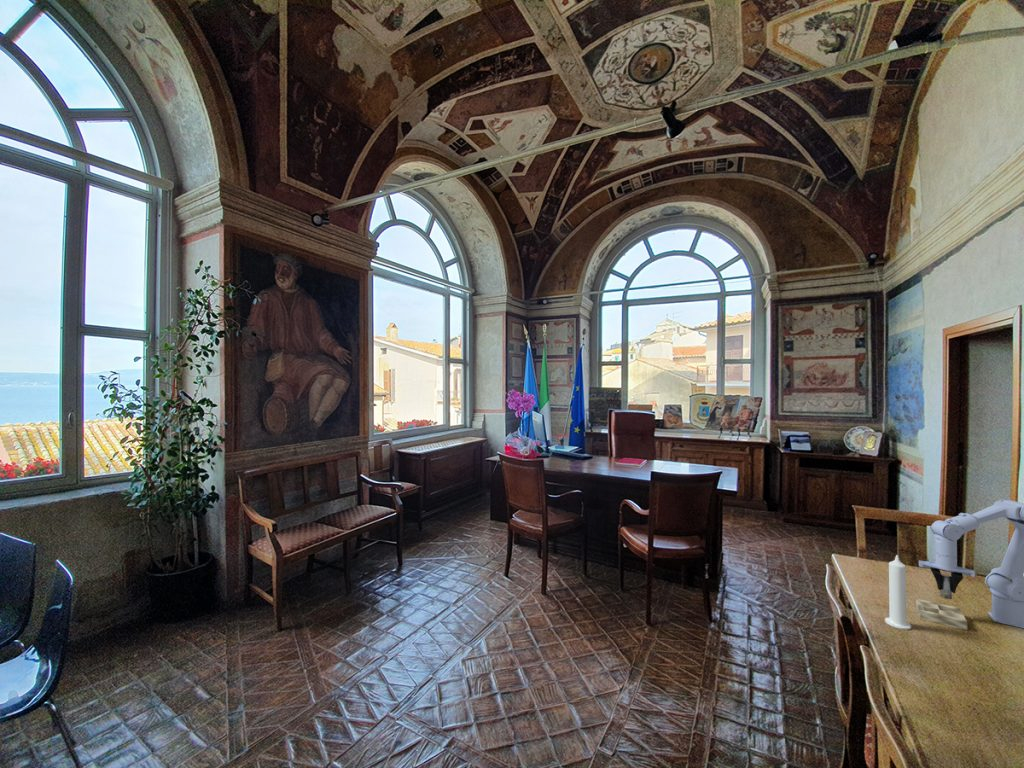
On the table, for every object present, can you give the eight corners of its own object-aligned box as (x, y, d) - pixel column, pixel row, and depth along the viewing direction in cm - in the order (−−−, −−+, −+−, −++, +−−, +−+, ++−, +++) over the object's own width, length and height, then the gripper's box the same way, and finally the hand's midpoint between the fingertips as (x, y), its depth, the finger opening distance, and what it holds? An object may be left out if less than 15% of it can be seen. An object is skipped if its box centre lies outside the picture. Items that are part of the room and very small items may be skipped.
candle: (916, 631, 148) (915, 559, 149) (893, 628, 150) (892, 558, 150) (902, 620, 155) (901, 552, 156) (880, 618, 157) (879, 550, 157)
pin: (951, 597, 158) (950, 575, 158) (952, 600, 156) (952, 578, 156) (939, 594, 160) (939, 573, 160) (941, 597, 157) (940, 576, 158)
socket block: (959, 616, 158) (959, 608, 158) (967, 630, 149) (967, 621, 149) (915, 605, 166) (915, 598, 166) (920, 619, 156) (920, 610, 156)
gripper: (971, 555, 157) (971, 592, 156) (917, 546, 165) (917, 581, 165) (976, 561, 151) (976, 599, 151) (920, 552, 160) (920, 588, 160)
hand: (946, 590), depth 158 cm, fingers closed on pin, 3 cm apart
